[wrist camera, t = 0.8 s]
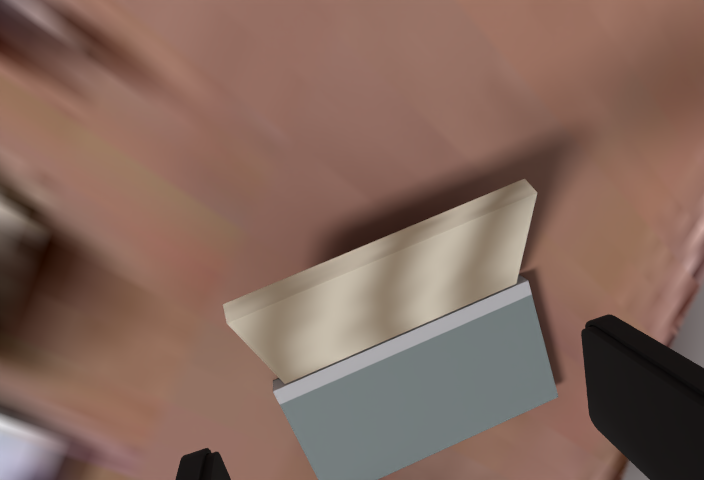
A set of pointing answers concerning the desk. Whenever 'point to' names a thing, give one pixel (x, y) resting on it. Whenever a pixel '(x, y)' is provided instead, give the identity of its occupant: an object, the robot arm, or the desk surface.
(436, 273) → the plank
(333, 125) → the desk surface
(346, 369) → the grey rectangular panel
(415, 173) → the desk surface
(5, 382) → the desk surface
